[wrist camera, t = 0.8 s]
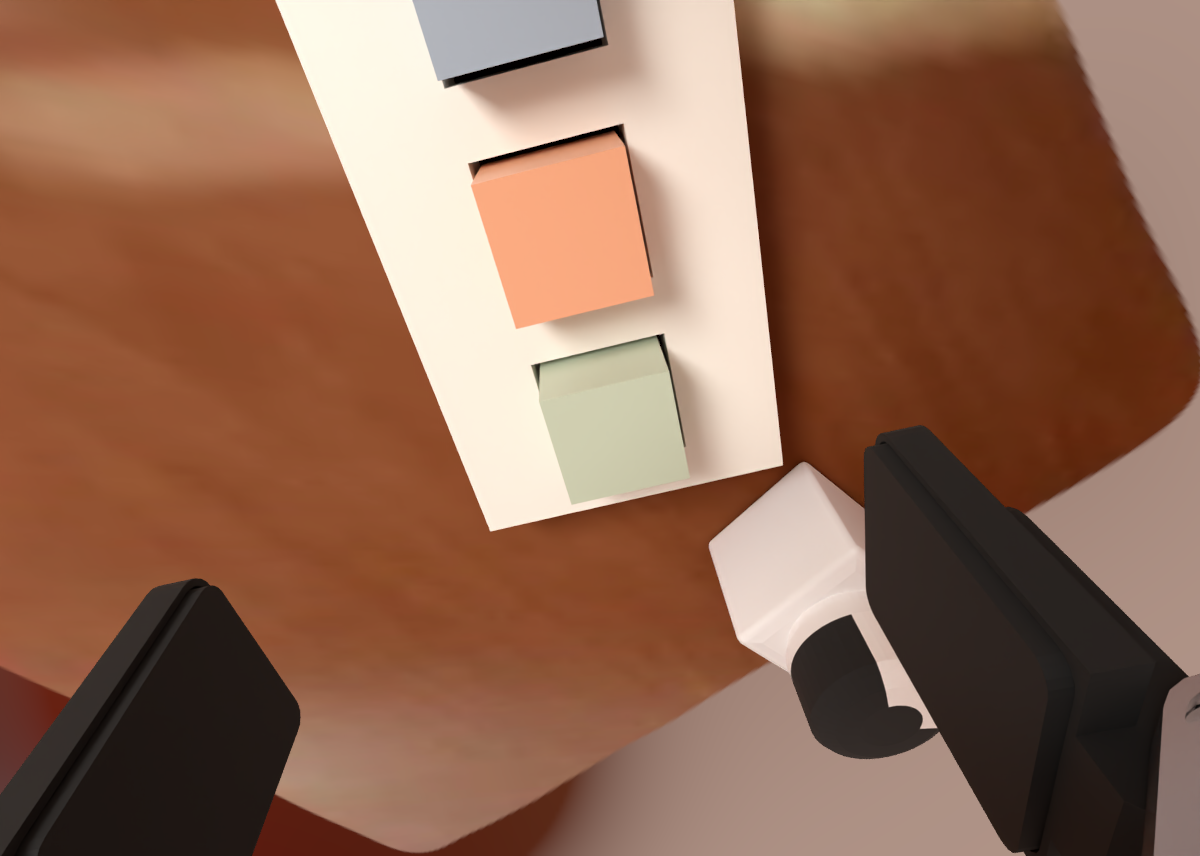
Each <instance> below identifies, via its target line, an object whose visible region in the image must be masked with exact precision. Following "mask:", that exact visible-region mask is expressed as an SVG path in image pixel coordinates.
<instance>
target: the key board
mask: <svg viewBox="0 0 1200 856" xmlns="http://www.w3.org/2000/svg"><path fill="white" fill-rule="evenodd" d="M596 1H597V6H598V11H599V16H600V21H601V26H602V31H603V36H604V37H602V38H601V41H602V45H599V46H595V47H591V48H588V49H584V50H580V51H576V52H573V53H569V54H565V55H561V56H557V57H554V58H550V59H546V60H542V61H539V62H535V63H531V64H527V65H524V66H520V67H516V68H512V69H509V70H505V71H501V72H497V73H494V74H490V75H486V76H482V77H479V78H475V79H471V80H467V81H464V82H460V83H456V84H455V81H454V78H453V77H452V78H448V79H444V80H441V81H438V80H437V77H436V74H435V71H434V67H433V64H432V61H431V58H430V55H429V52H428V48H427V45H426V42H425V39H424V36H423V33H422V29H421V26H420V23H419V20H418V17H417V14H416V10H415V7H414V4H413V1H412V0H276V2H277V5H278V7H279V10H280V12H281V15H282V17H283V20H284V22H285V25H286V27H287V30H288V32H289V34H290V37H291V39H292V42H293V44H294V47H295V49H296V52H297V54H298V57H299V59H300V62H301V64H302V67H303V69H304V72H305V74H306V76H307V79H308V81H309V84H310V86H311V89H312V91H313V94H314V96H315V99H316V101H317V104H318V106H319V109H320V111H321V114H322V116H323V119H324V121H325V123H326V126H327V128H328V131H329V133H330V136H331V138H332V141H333V143H334V146H335V148H336V151H337V153H338V156H339V158H340V161H341V163H342V165H343V168H344V170H345V173H346V175H347V178H348V180H349V183H350V185H351V188H352V190H353V193H354V195H355V198H356V200H357V203H358V205H359V208H360V210H361V212H362V215H363V217H364V220H365V222H366V225H367V227H368V230H369V232H370V235H371V237H372V240H373V242H374V245H375V247H376V250H377V252H378V254H379V257H380V259H381V262H382V264H383V267H384V269H385V272H386V274H387V277H388V279H389V282H390V284H391V287H392V289H393V292H394V294H395V297H396V299H397V301H398V304H399V306H400V309H401V311H402V314H403V316H404V319H405V321H406V324H407V326H408V329H409V331H410V334H411V336H412V339H413V341H414V343H415V346H416V348H417V351H418V353H419V356H420V358H421V361H422V363H423V366H424V368H425V371H426V373H427V376H428V378H429V381H430V383H431V386H432V388H433V390H434V393H435V395H436V398H437V400H438V403H439V405H440V408H441V410H442V413H443V415H444V418H445V420H446V423H447V425H448V428H449V430H450V432H451V435H452V437H453V440H454V442H455V445H456V447H457V450H458V452H459V455H460V457H461V460H462V462H463V465H464V467H465V470H466V472H467V475H468V477H469V479H470V482H471V484H472V487H473V489H474V492H475V494H476V497H477V499H478V502H479V504H480V507H481V509H482V512H483V514H484V517H485V519H486V521H487V524H488V526H489V529H490V531H494V530H498V529H503V528H507V527H512V526H516V525H521V524H525V523H529V522H534V521H538V520H543V519H547V518H552V517H556V516H560V515H565V514H569V513H574V512H578V511H583V510H587V509H591V508H596V507H600V506H605V505H609V504H614V503H618V502H622V501H627V500H631V499H636V498H640V497H645V496H649V495H654V494H658V493H662V492H667V491H671V490H676V489H680V488H685V487H689V486H693V485H698V484H702V483H707V482H711V481H716V480H720V479H724V478H729V477H733V476H738V475H742V474H747V473H751V472H755V471H760V470H764V469H769V468H773V467H778V466H782V465H783V460H782V450H781V441H780V431H779V422H778V413H777V403H776V394H775V384H774V375H773V366H772V356H771V347H770V337H769V328H768V319H767V309H766V300H765V290H764V281H763V272H762V262H761V253H760V244H759V234H758V225H757V215H756V206H755V197H754V187H753V178H752V168H751V159H750V150H749V140H748V131H747V121H746V112H745V103H744V93H743V84H742V75H741V65H740V56H739V46H738V37H737V28H736V18H735V9H734V0H596ZM615 125H618V127H619V132H620V137H621V141H622V142H623V144H624V145H625V149H626V154H627V159H628V164H629V169H630V174H631V179H632V185H633V190H634V195H635V200H636V205H637V210H638V215H639V220H640V225H641V230H642V236H643V241H644V246H645V251H646V256H647V261H648V266H649V271H650V276H651V282H652V287H653V292H654V296H650V297H646V298H642V299H638V300H634V301H630V302H626V303H622V304H618V305H613V306H609V307H605V308H601V309H597V310H593V311H589V312H585V313H580V314H576V315H572V316H568V317H564V318H560V319H556V320H552V321H548V322H543V323H539V324H535V325H531V326H527V327H523V328H519V329H516V327H515V324H514V321H513V318H512V315H511V311H510V308H509V305H508V302H507V299H506V296H505V292H504V289H503V286H502V283H501V280H500V277H499V273H498V270H497V267H496V264H495V261H494V258H493V254H492V251H491V248H490V245H489V242H488V239H487V235H486V232H485V229H484V226H483V223H482V219H481V216H480V213H479V210H478V207H477V204H476V200H475V197H474V194H473V191H472V188H471V184H472V182H473V180H474V178H475V176H476V174H477V173H478V171H479V169H480V167H481V166H480V163H479V161H480V160H484V159H488V158H491V157H495V156H499V155H503V154H507V153H511V152H515V151H518V150H522V149H526V148H530V147H534V146H538V145H542V144H545V143H549V142H553V141H557V140H561V139H565V138H569V137H572V136H576V135H580V134H584V133H588V132H592V131H596V130H600V129H603V128H607V127H611V126H615ZM659 334H660V339H661V344H662V349H663V355H664V359H665V361H666V364H667V367H668V370H669V374H670V379H671V384H672V389H673V394H674V399H675V404H676V409H677V414H678V419H679V425H680V430H681V435H682V440H683V445H684V450H685V455H686V460H687V465H688V471H689V476H690V478H688V479H684V480H679V481H675V482H671V483H666V484H662V485H657V486H653V487H648V488H644V489H640V490H635V491H631V492H626V493H622V494H618V495H613V496H609V497H604V498H600V499H595V500H591V501H587V502H582V503H578V504H573V505H571V502H570V498H569V495H568V492H567V489H566V486H565V483H564V479H563V476H562V473H561V470H560V467H559V463H558V460H557V457H556V454H555V451H554V448H553V444H552V441H551V438H550V435H549V432H548V429H547V425H546V422H545V419H544V416H543V413H542V410H541V406H540V403H539V383H540V363H542V362H546V361H550V360H554V359H559V358H563V357H567V356H571V355H575V354H579V353H584V352H588V351H592V350H596V349H600V348H605V347H609V346H613V345H617V344H621V343H625V342H630V341H634V340H638V339H642V338H646V337H650V336H655V335H659Z"/></svg>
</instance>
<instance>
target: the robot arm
mask: <svg viewBox="0 0 1200 856" xmlns="http://www.w3.org/2000/svg"><path fill="white" fill-rule="evenodd" d="M864 498H865V578H866V594H867V599H868V602H869V605H870V608H871V611H872V613H873V615H874V617H875V618H876V620H877V622H878V624H879V625H880V627H881V629H882V631H883V632H884V634H885V636H886V638H887V640H888V641H889V643H890V645H891V647H892V648H893V650H894V652H895V654H896V655H897V657H898V659H899V661H900V663H901V664H902V666H903V668H904V670H905V671H906V673H907V675H908V677H909V679H910V680H911V682H912V684H913V686H914V687H915V689H916V691H917V693H918V694H919V696H920V698H921V700H922V702H923V703H924V705H925V707H926V709H927V710H928V712H929V714H930V716H931V717H932V719H933V721H934V723H935V725H936V726H937V728H938V730H939V732H940V733H941V735H942V737H943V739H944V740H945V742H946V744H947V746H948V747H949V749H950V751H951V753H952V755H953V756H954V758H955V760H956V762H957V764H958V765H959V767H960V769H961V770H962V772H963V774H964V776H965V778H966V779H967V781H968V783H969V785H970V786H971V788H972V790H973V792H974V794H975V795H976V797H977V799H978V801H979V802H980V804H981V806H982V808H983V810H984V811H985V813H986V815H987V817H988V818H989V820H990V822H991V824H992V826H993V827H994V829H995V830H996V833H997V834H998V836H999V837H1000V839H1001V841H1002V842H1003V844H1004V845H1005V846H1006V847H1007V849H1008V850H1010V851H1011V852H1012V853H1018V852H1023V851H1024V853H1025V855H1026V856H1200V674H1198V675H1195V676H1191V677H1189V676H1188V675H1186V673H1184V671H1182V669H1180V668H1179V667H1178V665H1176V664H1175V663H1174V662H1173V661H1172V660H1171V659H1170V658H1169V657H1168V656H1167V655H1166V654H1165V653H1164V652H1163V651H1162V650H1161V649H1160V648H1159V647H1158V646H1157V645H1156V644H1155V643H1154V642H1153V641H1152V640H1151V639H1150V638H1149V637H1148V636H1147V635H1146V634H1145V633H1144V632H1143V631H1142V630H1141V629H1140V628H1139V627H1138V626H1137V625H1136V624H1135V623H1134V622H1133V621H1132V620H1131V619H1130V618H1129V617H1128V616H1127V615H1126V614H1125V613H1124V612H1123V611H1122V610H1121V609H1120V608H1119V607H1118V606H1117V605H1116V604H1115V603H1114V602H1113V601H1112V600H1111V599H1110V598H1109V597H1108V596H1107V595H1106V594H1105V593H1104V592H1103V591H1102V590H1101V589H1100V588H1099V587H1098V586H1097V585H1096V584H1095V583H1094V582H1093V581H1092V580H1091V579H1090V578H1089V577H1088V576H1087V575H1086V574H1085V573H1084V572H1083V571H1082V570H1081V569H1080V568H1079V567H1077V565H1076V564H1075V563H1074V562H1073V561H1072V560H1071V559H1070V558H1069V557H1068V556H1067V555H1066V554H1064V553H1063V551H1062V550H1060V549H1059V547H1058V546H1057V545H1055V543H1054V542H1053V541H1052V540H1050V538H1048V537H1047V535H1045V534H1044V533H1043V532H1042V531H1041V530H1040V529H1039V528H1038V527H1037V526H1036V525H1035V524H1034V523H1033V522H1032V521H1031V520H1030V519H1029V518H1028V517H1027V516H1026V515H1025V514H1023V513H1022V512H1021V511H1019V510H1018V509H1014V508H1011V507H1006V508H1005V507H1004V506H1003V505H1002V504H1001V503H1000V502H999V501H998V500H997V499H996V498H995V497H994V496H993V495H992V494H991V493H990V491H989V490H988V489H987V488H986V487H985V486H984V485H983V484H982V483H981V482H980V481H979V480H978V479H977V478H976V477H975V476H974V475H973V474H972V473H971V472H970V471H969V470H968V469H967V468H966V467H965V466H964V465H963V464H962V463H961V462H960V461H959V460H958V459H957V458H956V457H955V456H954V455H953V454H952V453H951V452H950V451H949V450H948V449H947V448H946V447H945V446H944V445H943V443H942V442H941V441H940V440H939V439H938V438H937V437H936V436H935V435H934V434H933V433H932V432H931V431H930V430H929V429H927V428H926V427H925V426H921V425H919V426H914V427H909V428H905V429H900V430H895V431H890V432H886V433H881V434H879V435H878V436H877V439H876V444H875V446H871V447H867V448H866V449H865V452H864ZM299 725H300V709H299V705H298V703H297V701H296V699H295V698H294V696H293V695H292V694H291V692H290V691H289V689H288V688H287V686H286V685H285V683H284V682H283V680H282V679H281V677H280V676H279V674H278V673H277V672H276V670H275V669H274V667H273V666H272V664H271V663H270V661H269V660H268V658H267V657H266V655H265V654H264V652H263V651H262V650H261V648H260V647H259V645H258V644H257V642H256V641H255V639H254V638H253V636H252V635H251V633H250V632H249V630H248V629H247V627H246V626H245V625H244V623H243V622H242V620H241V619H240V617H239V616H238V614H237V613H236V611H235V610H234V608H233V607H232V605H231V604H230V603H229V601H228V600H227V598H226V597H225V595H224V594H223V592H222V591H221V590H220V589H219V588H218V587H216V586H210V585H209V584H208V583H207V582H206V581H204V580H202V579H190V580H185V581H180V582H176V583H171V584H166V585H161V586H158V587H156V588H153V589H152V590H151V591H150V592H149V593H148V594H147V595H146V597H145V598H144V599H143V601H142V602H141V604H140V605H139V606H138V608H137V609H136V610H135V612H134V613H133V614H132V616H131V617H130V619H129V620H128V621H127V623H126V624H125V625H124V627H123V628H122V629H121V631H120V632H119V634H118V635H117V636H116V638H115V639H114V640H113V642H112V643H111V644H110V646H109V647H108V649H107V650H106V651H105V653H104V654H103V655H102V657H101V658H100V659H99V661H98V662H97V664H96V665H95V666H94V668H93V669H92V670H91V672H90V673H89V674H88V676H87V677H86V679H85V680H84V681H83V683H82V684H81V685H80V687H79V688H78V689H77V691H76V692H75V694H74V695H73V696H72V698H71V699H70V700H69V702H68V703H67V704H66V706H65V708H64V709H63V710H62V711H61V713H60V714H59V715H58V717H57V718H56V720H55V721H54V722H53V724H52V725H51V726H50V728H49V729H48V730H47V732H46V733H45V734H44V736H43V737H42V739H41V740H40V741H39V743H38V744H37V745H36V747H35V748H34V750H33V751H32V752H31V754H30V755H29V757H28V758H27V759H26V760H25V762H24V763H23V764H22V766H21V767H20V769H19V770H18V771H17V773H16V774H15V775H14V777H13V778H12V779H11V781H10V782H9V784H8V785H7V786H6V788H5V789H4V791H3V792H2V793H1V794H0V856H252V854H253V851H254V848H255V846H256V843H257V840H258V838H259V835H260V832H261V829H262V827H263V824H264V821H265V819H266V816H267V813H268V811H269V808H270V805H271V802H272V800H273V797H274V794H275V792H276V789H277V786H278V783H279V781H280V778H281V775H282V773H283V770H284V767H285V764H286V762H287V759H288V756H289V754H290V751H291V748H292V745H293V743H294V740H295V737H296V735H297V732H298V729H299Z"/></svg>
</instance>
